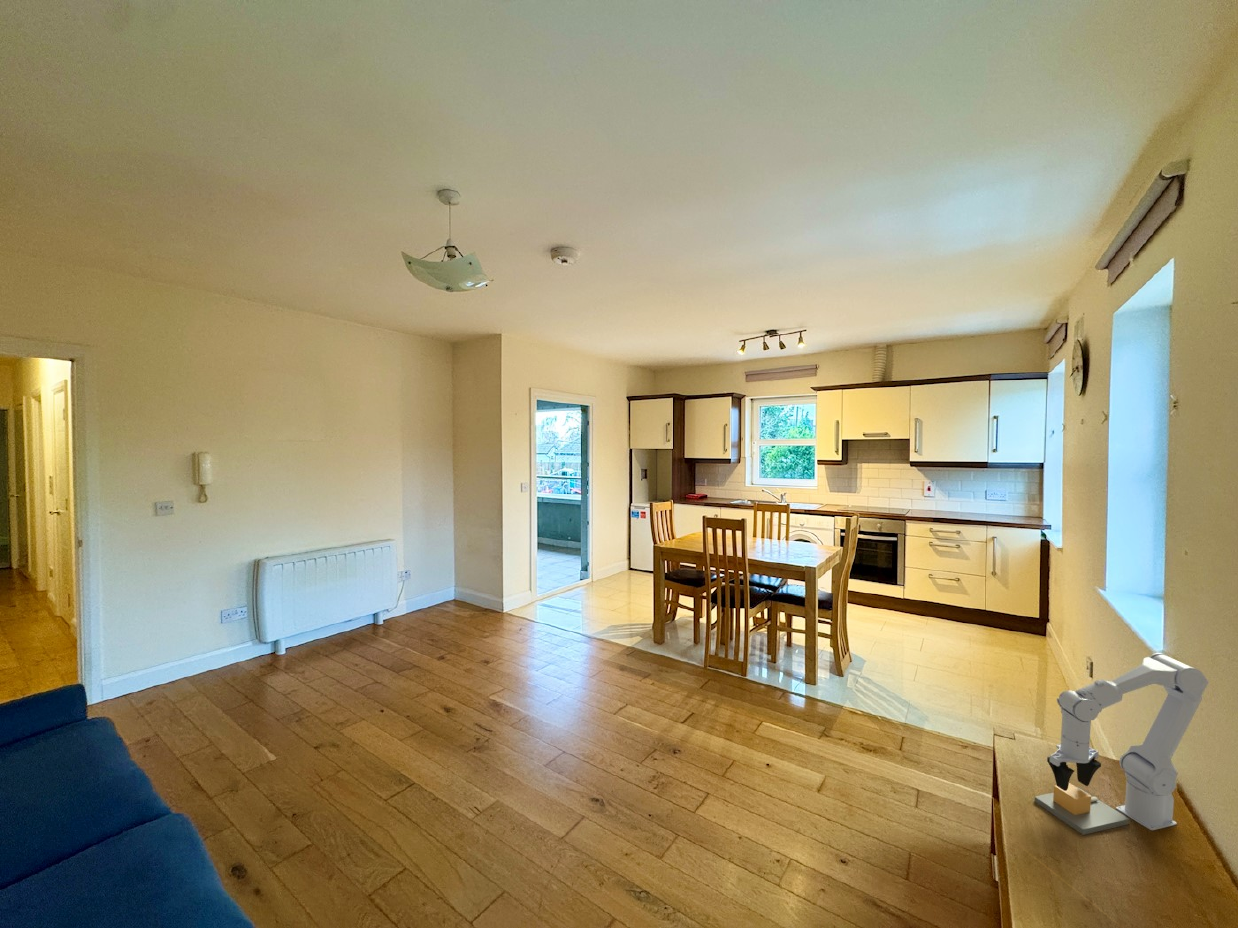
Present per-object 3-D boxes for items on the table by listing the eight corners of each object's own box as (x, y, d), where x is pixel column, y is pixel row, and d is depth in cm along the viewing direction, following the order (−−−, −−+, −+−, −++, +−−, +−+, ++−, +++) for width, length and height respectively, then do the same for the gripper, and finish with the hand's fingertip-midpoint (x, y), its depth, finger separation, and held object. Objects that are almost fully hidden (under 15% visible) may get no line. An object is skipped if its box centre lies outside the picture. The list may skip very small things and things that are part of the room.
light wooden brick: (1067, 797, 140) (1068, 782, 139) (1090, 811, 134) (1091, 796, 134) (1053, 800, 138) (1054, 785, 138) (1075, 814, 133) (1076, 799, 133)
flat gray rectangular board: (1077, 792, 144) (1078, 777, 144) (1128, 823, 132) (1130, 807, 132) (1034, 801, 140) (1035, 785, 140) (1082, 834, 128) (1084, 818, 128)
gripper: (1079, 725, 141) (1076, 771, 142) (1038, 732, 138) (1036, 779, 138) (1108, 740, 134) (1105, 789, 135) (1067, 748, 131) (1064, 798, 132)
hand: (1072, 785), depth 136 cm, fingers open, 7 cm apart
